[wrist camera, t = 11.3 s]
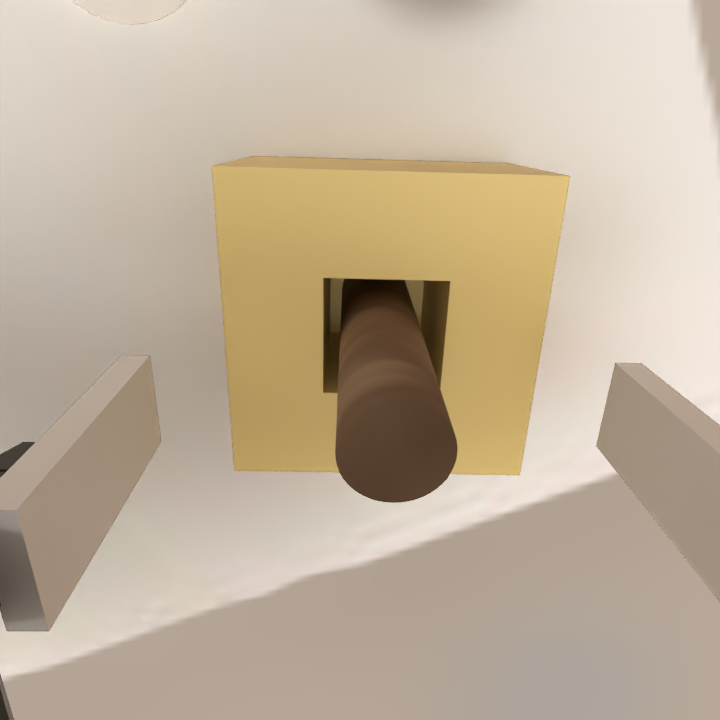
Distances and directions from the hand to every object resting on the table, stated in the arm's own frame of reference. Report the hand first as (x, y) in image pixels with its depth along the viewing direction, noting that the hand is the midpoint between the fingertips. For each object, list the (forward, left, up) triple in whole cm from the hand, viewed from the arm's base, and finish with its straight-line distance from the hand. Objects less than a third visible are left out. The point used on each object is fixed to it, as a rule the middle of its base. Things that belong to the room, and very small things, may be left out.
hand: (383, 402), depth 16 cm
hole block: (0, 0, -13) cm, 13 cm away
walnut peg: (0, 0, -12) cm, 12 cm away
